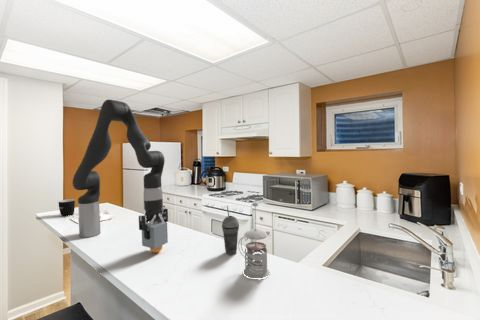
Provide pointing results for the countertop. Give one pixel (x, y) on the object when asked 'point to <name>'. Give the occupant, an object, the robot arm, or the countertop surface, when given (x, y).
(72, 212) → the mug
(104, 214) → the tray
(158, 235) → the grey square block
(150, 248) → the ball
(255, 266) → the french press
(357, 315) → the countertop surface
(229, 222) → the beverage cup
